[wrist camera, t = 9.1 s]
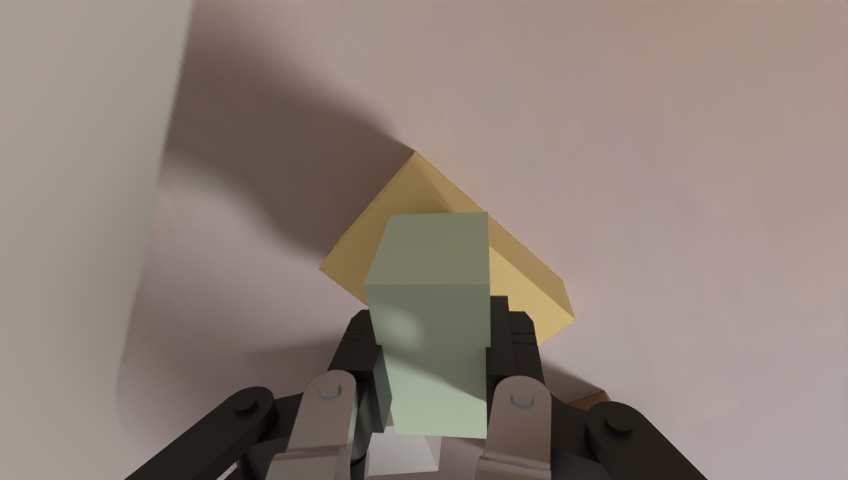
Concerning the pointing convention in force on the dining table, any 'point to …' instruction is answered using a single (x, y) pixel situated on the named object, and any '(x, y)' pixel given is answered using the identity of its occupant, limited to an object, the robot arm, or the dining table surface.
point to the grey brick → (402, 452)
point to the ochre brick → (434, 193)
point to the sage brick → (434, 320)
